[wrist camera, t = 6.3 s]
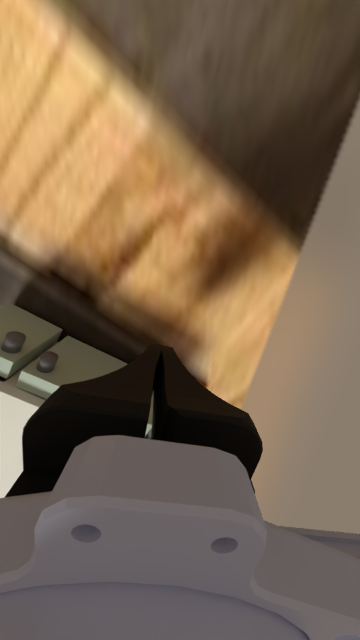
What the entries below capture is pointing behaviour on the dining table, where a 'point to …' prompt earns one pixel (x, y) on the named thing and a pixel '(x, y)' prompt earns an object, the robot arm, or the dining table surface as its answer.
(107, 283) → the dining table surface
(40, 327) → the cabinet
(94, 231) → the dining table surface
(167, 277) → the dining table surface
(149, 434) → the door
